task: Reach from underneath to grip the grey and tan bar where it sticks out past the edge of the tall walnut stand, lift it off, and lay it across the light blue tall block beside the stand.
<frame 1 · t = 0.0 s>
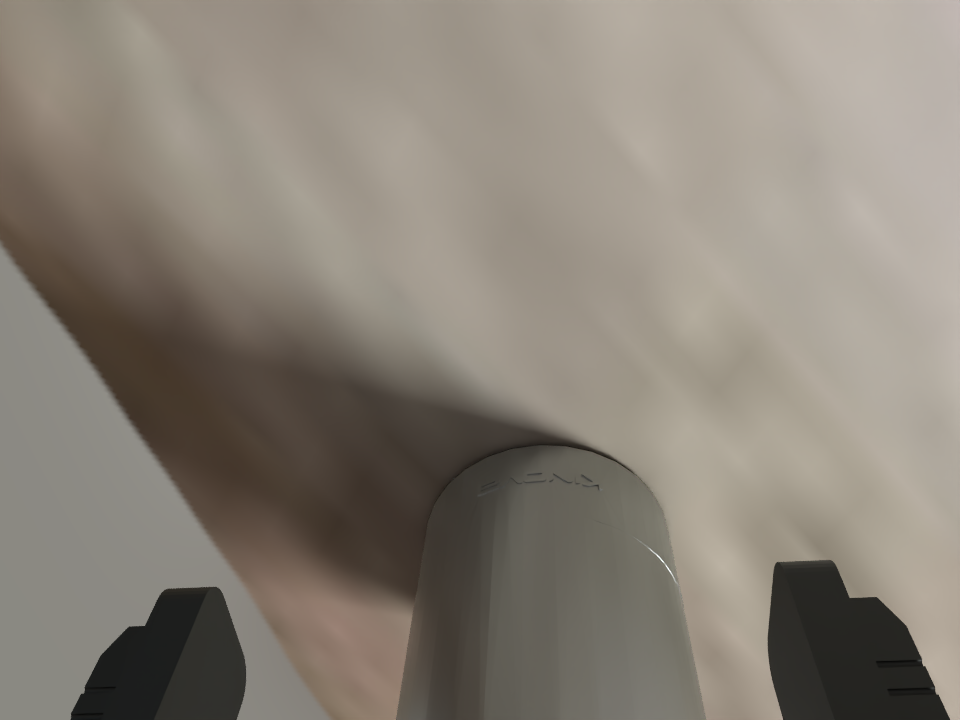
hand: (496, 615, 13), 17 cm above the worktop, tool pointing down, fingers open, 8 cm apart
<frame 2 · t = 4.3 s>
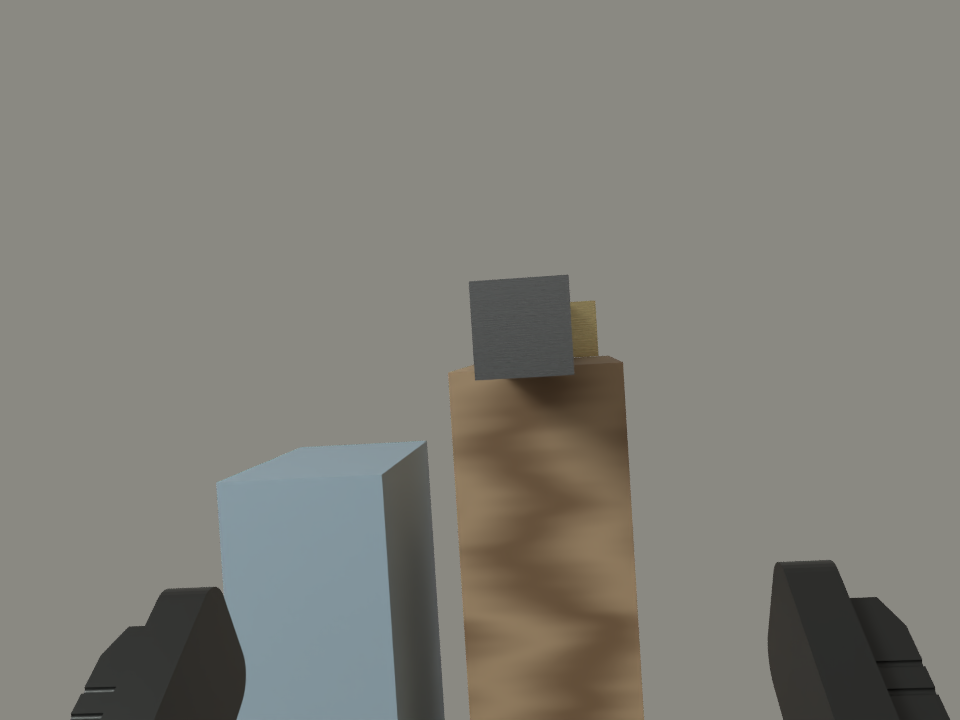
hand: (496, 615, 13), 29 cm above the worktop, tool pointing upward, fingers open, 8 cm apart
grey and tan bar: (536, 365, 38), point 32 cm above the worktop, touching press stand
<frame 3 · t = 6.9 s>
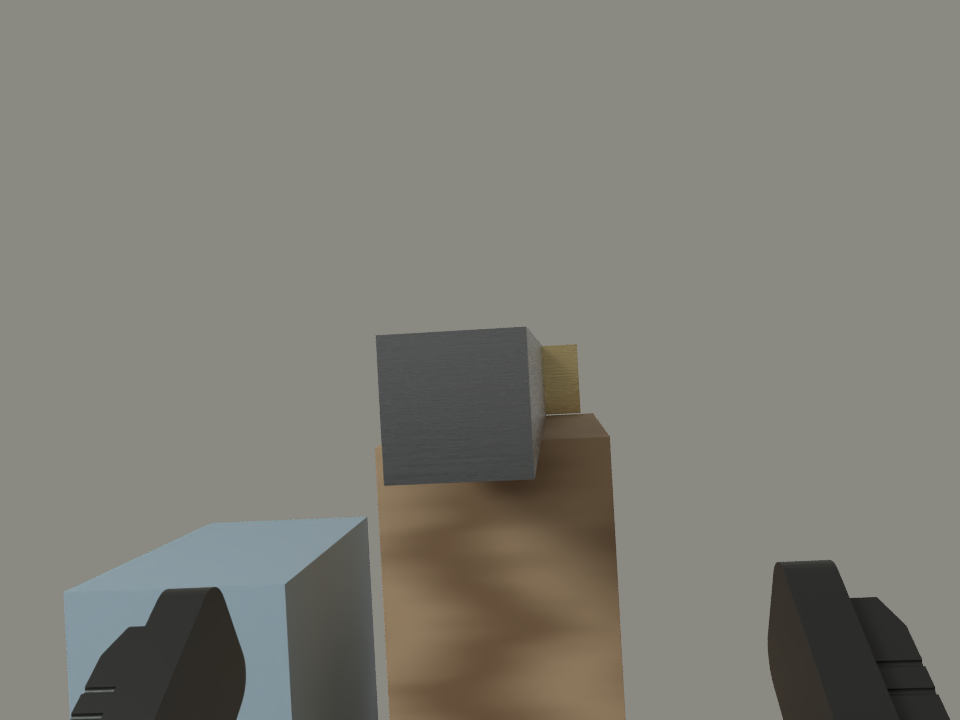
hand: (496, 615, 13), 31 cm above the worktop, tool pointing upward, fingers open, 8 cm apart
grey and tan bar: (495, 436, 29), point 32 cm above the worktop, touching press stand
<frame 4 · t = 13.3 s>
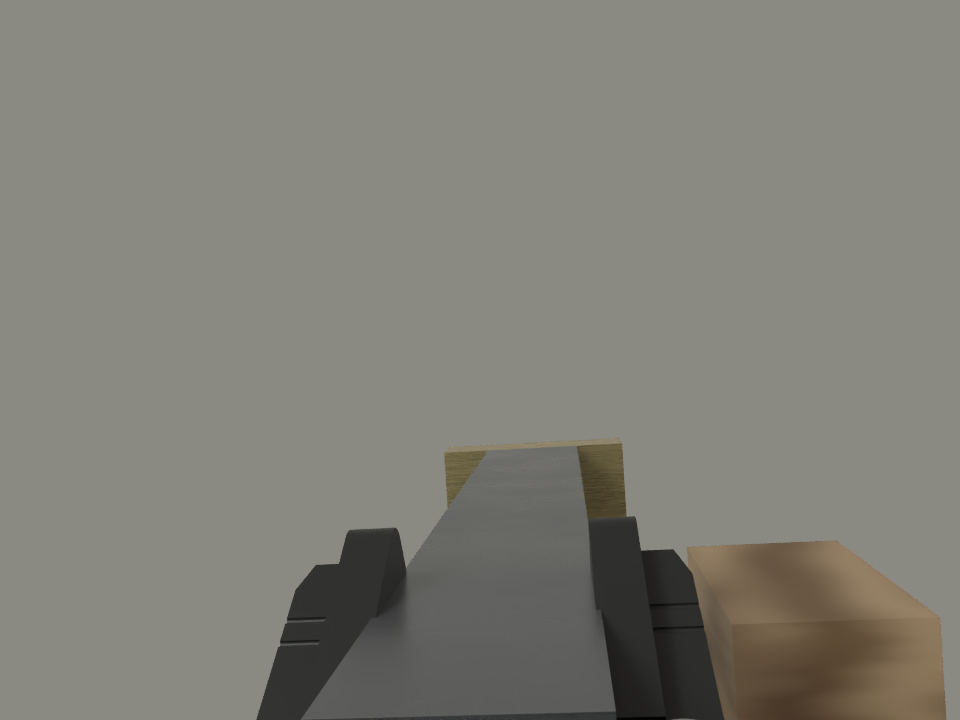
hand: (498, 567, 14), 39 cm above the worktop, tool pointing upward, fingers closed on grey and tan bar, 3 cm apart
grey and tan bar: (524, 644, 19), point 36 cm above the worktop, touching gripper
when the fingers open (32 cm above the worktop, at t = 17.2 s): grey and tan bar drops 1 cm, resting on light blue tall block.
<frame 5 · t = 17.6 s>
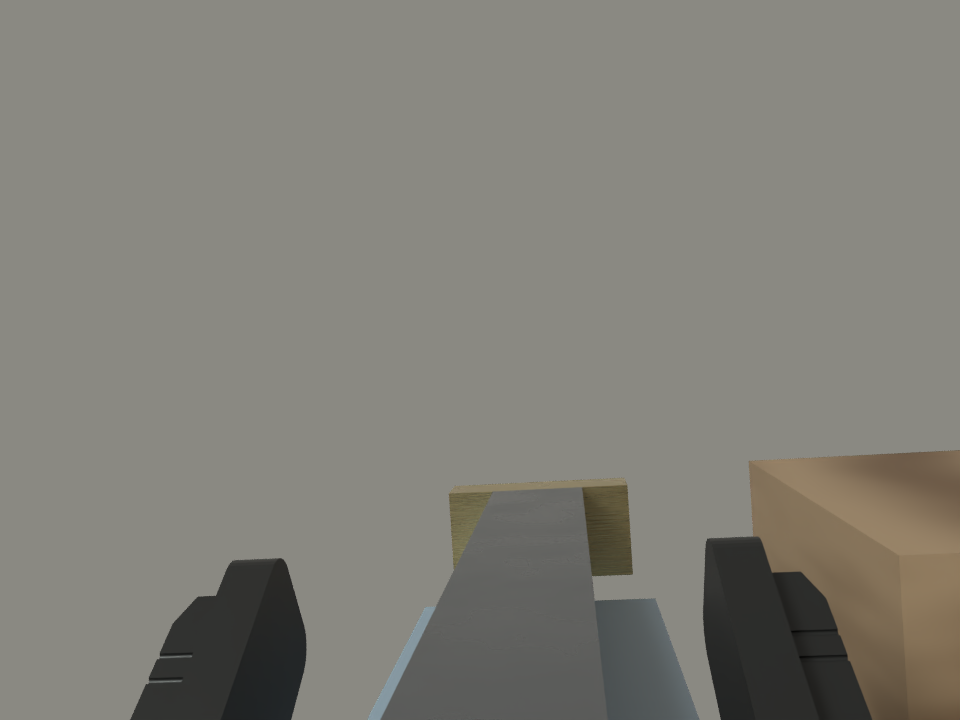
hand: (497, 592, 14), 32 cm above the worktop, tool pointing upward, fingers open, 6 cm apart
grey and tan bar: (529, 710, 19), point 28 cm above the worktop, touching light blue tall block
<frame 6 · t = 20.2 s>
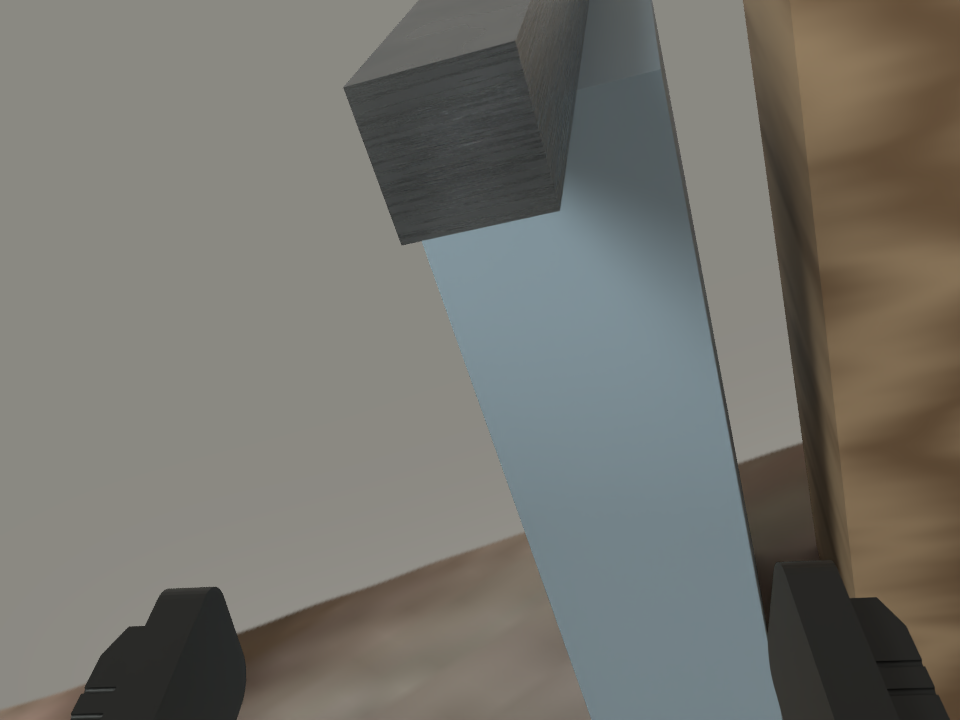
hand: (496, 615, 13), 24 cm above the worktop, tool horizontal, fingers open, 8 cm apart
grey and tan bar: (530, 62, 25), point 28 cm above the worktop, touching light blue tall block
light blue tall block: (691, 656, 41), on the worktop
press stand: (928, 636, 38), on the worktop
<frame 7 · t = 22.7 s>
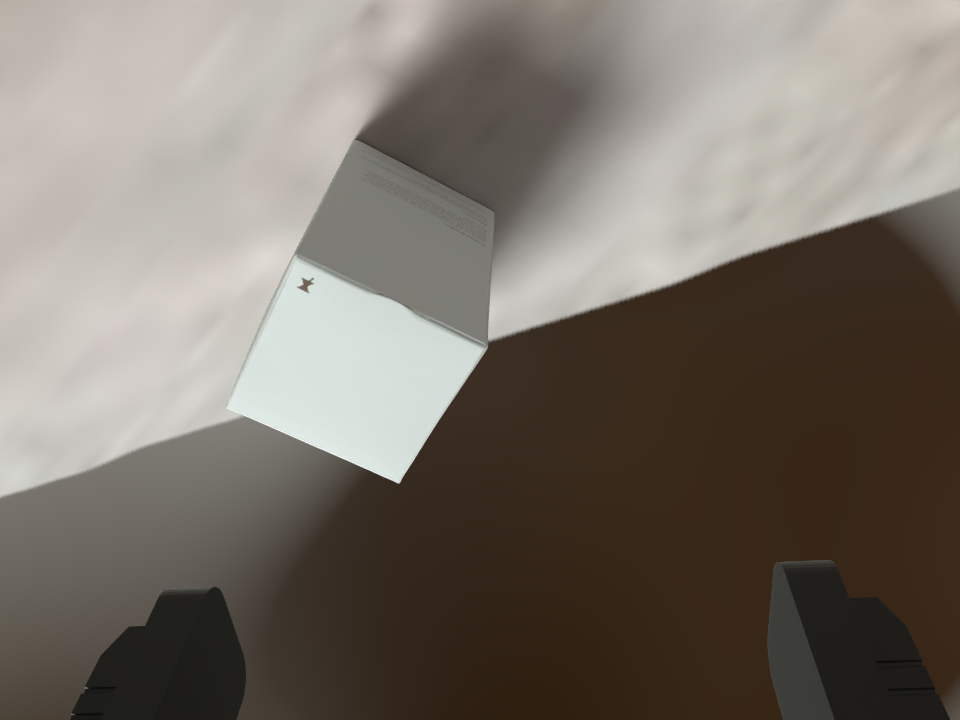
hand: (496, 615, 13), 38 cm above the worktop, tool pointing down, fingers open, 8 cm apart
supplement box 2: (394, 238, 52), on the worktop
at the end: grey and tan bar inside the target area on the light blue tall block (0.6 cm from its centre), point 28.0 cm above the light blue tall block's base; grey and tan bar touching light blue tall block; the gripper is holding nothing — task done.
